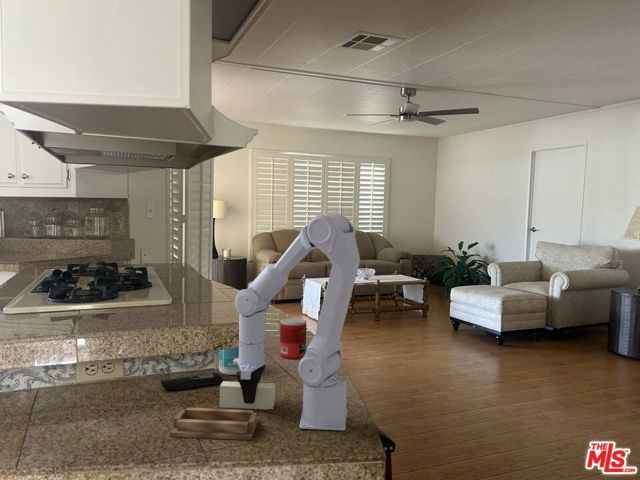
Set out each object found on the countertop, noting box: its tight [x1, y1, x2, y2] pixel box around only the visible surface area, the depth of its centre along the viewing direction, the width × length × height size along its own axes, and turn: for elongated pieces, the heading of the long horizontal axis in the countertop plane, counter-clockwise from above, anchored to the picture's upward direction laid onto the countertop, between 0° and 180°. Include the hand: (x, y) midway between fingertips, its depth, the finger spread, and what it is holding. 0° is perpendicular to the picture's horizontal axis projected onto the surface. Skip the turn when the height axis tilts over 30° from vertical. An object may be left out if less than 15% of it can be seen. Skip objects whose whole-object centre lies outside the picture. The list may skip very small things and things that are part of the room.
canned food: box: [279, 317, 307, 360], centre depth 153 cm, size 8×8×11 cm
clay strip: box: [219, 380, 276, 410], centre depth 115 cm, size 12×3×5 cm, turn 88°
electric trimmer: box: [160, 371, 224, 391], centre depth 126 cm, size 4×16×3 cm, turn 117°
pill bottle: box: [218, 348, 241, 376], centre depth 138 cm, size 8×7×14 cm
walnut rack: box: [169, 407, 259, 441], centre depth 103 cm, size 16×9×3 cm, turn 88°
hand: (250, 399), depth 115 cm, fingers closed on clay strip, 3 cm apart
